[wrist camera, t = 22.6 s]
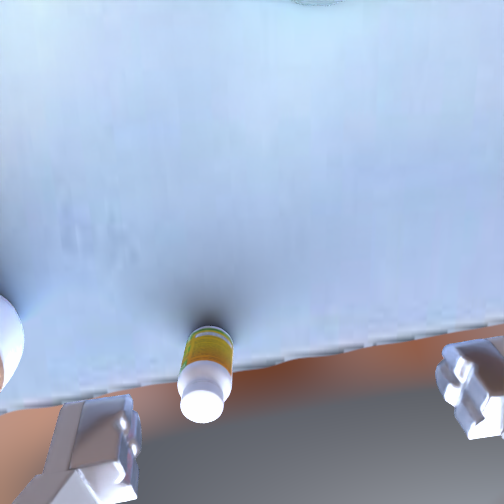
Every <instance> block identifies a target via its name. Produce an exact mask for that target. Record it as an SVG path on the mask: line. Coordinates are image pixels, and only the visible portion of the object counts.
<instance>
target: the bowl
mask: <svg viewBox="0 0 504 504" xmlns="http://www.w3.org/2000/svg"><path fill="white" fill-rule="evenodd" d="M291 1H294V2H296V3H298V4H302V5H325V6H328V5H333V4H336V3H339V2H342V1H345V0H291Z"/></svg>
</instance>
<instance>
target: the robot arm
mask: <svg viewBox="0 0 504 504" xmlns="http://www.w3.org/2000/svg"><path fill="white" fill-rule="evenodd" d="M442 355H443V357H444V358H445V359H444V360H442V361H441V362H440V363H439V364H438V365H437V368H436V372H435V376H436V383H437V386H438V388H439V391H440V393H441V394H442V396H443V398H444V399H445V400H446V401H447V402H449V403H450V404H452V405H453V406H455V414H454V415H455V417H456V419H457V421H458V422H459V424H460V425H461V427H462V429H463V430H464V432H465V433H466V435H467V437H468V438H469V439H476V438H483V437H490V436H496V435H502V436H501V437H502V438H503V439H504V336H497V337H492V338H486V339H476V340H470V341H464V342H459V343H453V344H448V345H446V346H445V347H444V348H443V351H442ZM141 441H142V435H141V424H140V418H139V416H138V413H137V412H135V411H134V410H133V400H132V398H131V396H130V394H127V395H121V396H113V397H105V398H98V399H91V400H83V401H76V402H70V403H64V405H63V407H62V408H61V410H60V412H59V416H58V420H57V423H56V427H55V430H54V434H53V437H52V441H51V445H50V448H49V452H48V456H47V459H46V463H45V467H44V470H43V474H41V475H36V476H35V477H34V478H33V479H32V480H31V481H30V483H29V484H28V485H27V486H26V487H25V489H24V490H23V491H22V492H21V493H20V494H19V496H18V497H17V498H16V499H15V500H14V502H13V503H12V504H113V503H118V502H123V501H128V500H132V499H137V489H138V478H139V468H138V465H137V463H136V461H135V458H136V457H137V456H138V454H139V453H140V451H141Z"/></svg>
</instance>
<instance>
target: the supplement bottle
mask: <svg viewBox="0 0 504 504" xmlns="http://www.w3.org/2000/svg"><path fill="white" fill-rule="evenodd" d="M232 370H233V341H232V339H231V337H230V336H229V334H228V333H227V332H226V331H224V330H223V329H221V328H218V327H215V326H204V327H201V328H198V329H196V330H195V331H193V332H192V333H191V334H190V336H189V338H188V340H187V343H186V347H185V351H184V356H183V360H182V365H181V369H180V373H179V377H178V391H179V394H180V395H181V397H182V398H181V405H180V406H181V410H182V412H183V414H184V415H185V416H186V417H187V418H188V419H190V420H192V421H194V422H199V423H206V422H210V421H213V420H215V419H216V418H218V417H219V416H220V415H221V413H222V411H223V406H224V401H225V400H226V399H227V397H228V396H229V394H230V391H231V387H232Z"/></svg>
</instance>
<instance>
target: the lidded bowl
mask: <svg viewBox="0 0 504 504" xmlns="http://www.w3.org/2000/svg"><path fill="white" fill-rule="evenodd" d="M23 348H24V331H23V326H22V323H21V320H20V318H19V316H18V313H17V311H16V309H15V308H14V307H13V305H12V304H11V303H10V302H9V301H8V300H7V299H6V298H4V297H3V296H1V295H0V392H1V390H2V389H3V388H4V386H5V385H6V384H7V382H8V381H9V380H10V378H11V376H12V375H13V373H14V371H15V370H16V368H17V366H18V363H19V361H20V359H21V356H22V352H23Z"/></svg>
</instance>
